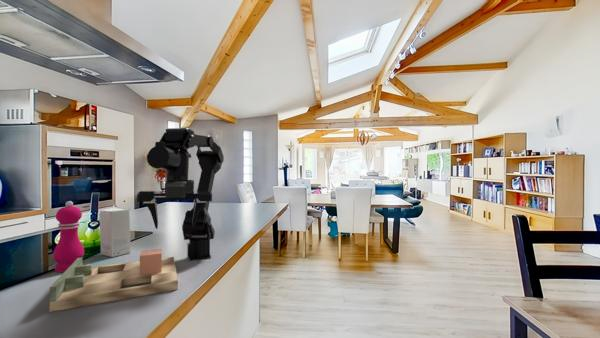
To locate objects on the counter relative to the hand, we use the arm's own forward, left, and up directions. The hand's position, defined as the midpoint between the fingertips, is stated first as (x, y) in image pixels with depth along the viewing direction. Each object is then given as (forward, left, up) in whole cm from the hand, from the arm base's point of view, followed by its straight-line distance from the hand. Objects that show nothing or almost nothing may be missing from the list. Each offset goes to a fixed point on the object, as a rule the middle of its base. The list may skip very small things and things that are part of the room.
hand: (175, 227), depth 78 cm
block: (+6, 0, -11) cm, 12 cm away
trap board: (+12, 0, -13) cm, 18 cm away
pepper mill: (+28, -20, -13) cm, 37 cm away
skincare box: (+18, -32, -13) cm, 39 cm away
